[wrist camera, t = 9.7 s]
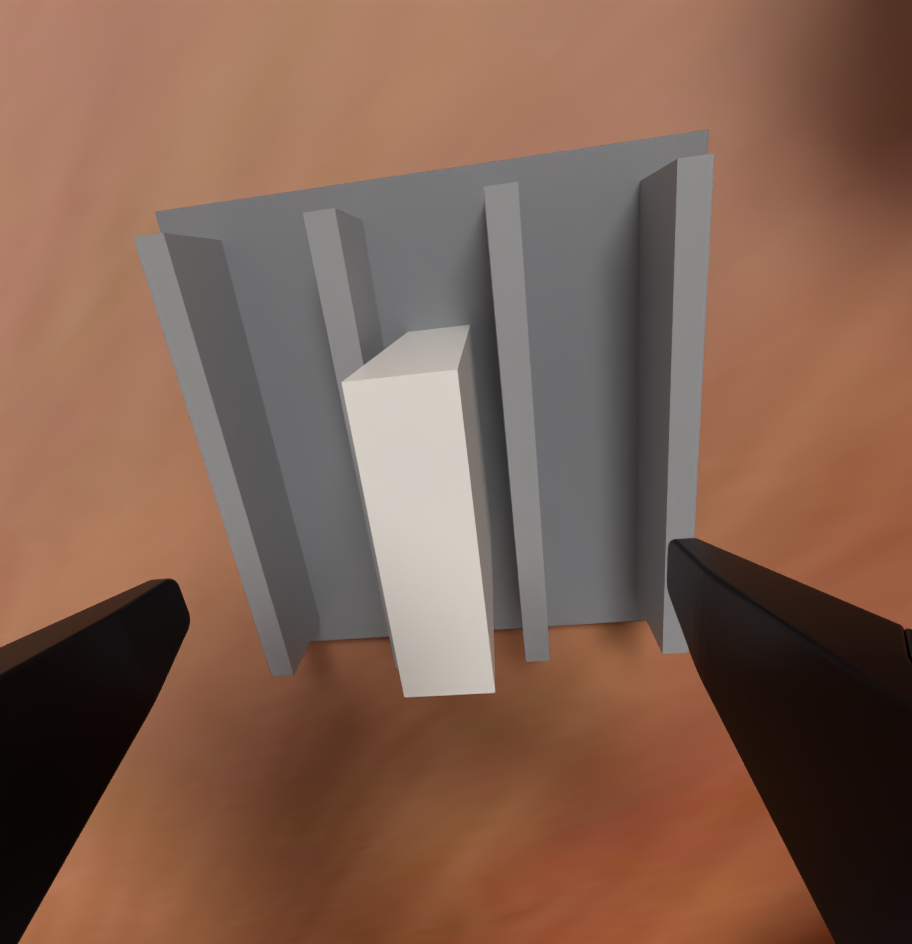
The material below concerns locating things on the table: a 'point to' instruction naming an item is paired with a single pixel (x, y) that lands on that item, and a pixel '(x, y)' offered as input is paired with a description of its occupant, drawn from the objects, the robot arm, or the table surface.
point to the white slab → (428, 507)
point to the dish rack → (496, 367)
